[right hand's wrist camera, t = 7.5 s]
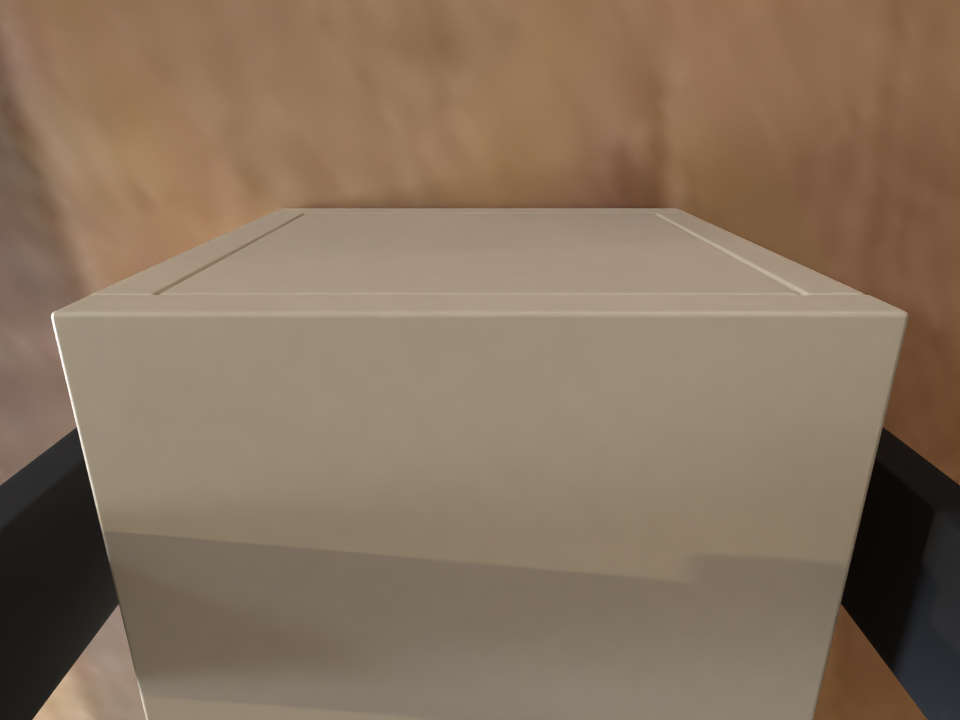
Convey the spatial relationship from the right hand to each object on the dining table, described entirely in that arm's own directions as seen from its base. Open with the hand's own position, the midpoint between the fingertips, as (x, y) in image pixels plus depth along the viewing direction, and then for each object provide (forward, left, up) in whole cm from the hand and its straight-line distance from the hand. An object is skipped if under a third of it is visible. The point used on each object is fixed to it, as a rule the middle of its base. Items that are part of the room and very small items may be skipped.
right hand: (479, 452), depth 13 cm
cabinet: (+1, -6, -5) cm, 8 cm away
